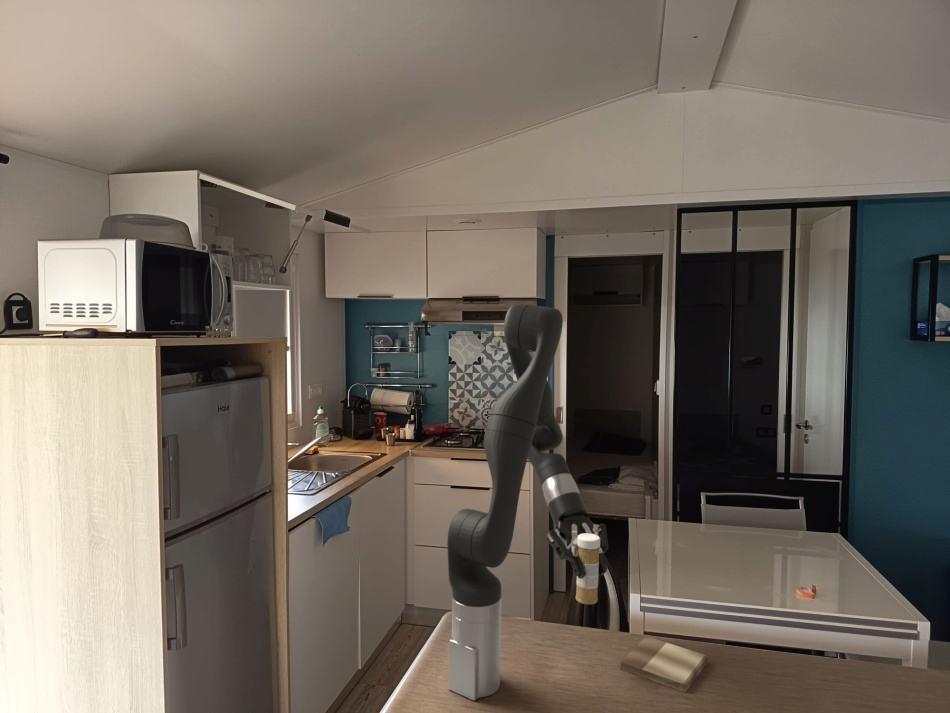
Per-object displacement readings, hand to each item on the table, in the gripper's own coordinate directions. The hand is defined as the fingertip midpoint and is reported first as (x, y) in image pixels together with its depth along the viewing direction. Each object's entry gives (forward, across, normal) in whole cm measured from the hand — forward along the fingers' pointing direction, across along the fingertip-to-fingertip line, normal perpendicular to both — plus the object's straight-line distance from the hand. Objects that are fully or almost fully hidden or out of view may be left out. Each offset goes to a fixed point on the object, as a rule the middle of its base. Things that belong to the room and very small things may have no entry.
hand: (593, 574), depth 132 cm
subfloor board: (+18, +13, +8) cm, 23 cm away
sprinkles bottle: (+3, 0, +6) cm, 7 cm away
